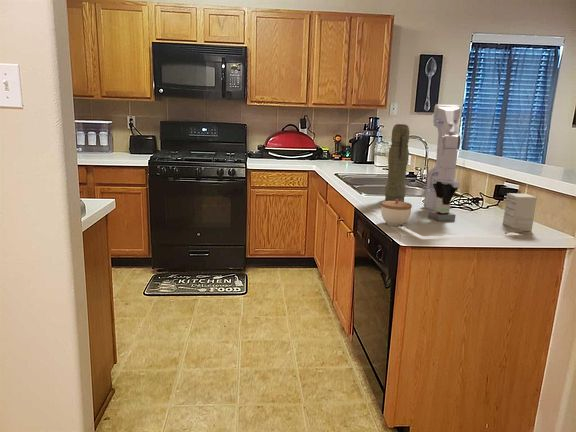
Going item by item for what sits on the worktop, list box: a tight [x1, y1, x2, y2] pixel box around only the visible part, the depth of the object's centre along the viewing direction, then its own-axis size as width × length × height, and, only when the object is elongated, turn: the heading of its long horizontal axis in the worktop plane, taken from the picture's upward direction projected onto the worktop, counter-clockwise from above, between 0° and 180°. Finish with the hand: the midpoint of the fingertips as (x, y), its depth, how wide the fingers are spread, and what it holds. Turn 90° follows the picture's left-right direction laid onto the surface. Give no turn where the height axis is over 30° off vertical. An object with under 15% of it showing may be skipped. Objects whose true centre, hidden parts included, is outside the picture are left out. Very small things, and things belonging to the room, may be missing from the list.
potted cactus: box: [384, 123, 410, 202], centre depth 201 cm, size 9×12×35 cm
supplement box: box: [502, 192, 538, 232], centre depth 161 cm, size 7×7×13 cm
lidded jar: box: [380, 199, 413, 227], centre depth 161 cm, size 11×11×9 cm
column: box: [434, 197, 451, 213], centre depth 167 cm, size 4×4×6 cm
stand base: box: [427, 210, 456, 223], centre depth 168 cm, size 16×18×4 cm
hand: (443, 203), depth 167 cm, fingers closed on column, 4 cm apart
